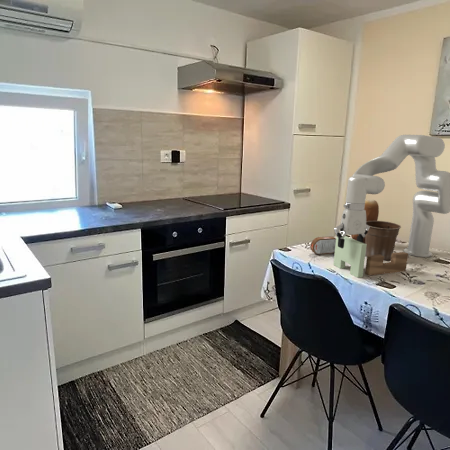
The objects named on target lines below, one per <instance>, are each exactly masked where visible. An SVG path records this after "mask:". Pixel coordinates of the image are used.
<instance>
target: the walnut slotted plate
mask: <svg viewBox="0 0 450 450" xmlns="http://www.w3.org/2000/svg"><path fill="white" fill-rule="evenodd" d="M408 258H409V254H408V253H406V252H404V251H400V252H393V253H392V255H391V259H390V261H389V262H385V260H384V256H383V255H380V254H379V255H369V256H366V261H365V267H364V274H365V275H366V276H368V277H372V276H378V275H386V274H395V273H401V272H402V273H403V272H406V271H407V266H408V265H407V264H408Z"/></svg>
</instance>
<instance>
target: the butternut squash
mask: <svg viewBox="0 0 450 450" xmlns="http://www.w3.org/2000/svg"><path fill="white" fill-rule="evenodd" d="M364 210H366V221H379V220H378V219H379V215H380V213H379V212H380V208H379V202H378V201H377V200H375V199H365V207H364ZM350 236H351V237H350V238H352V239H354V240H357V236H359V235H358V234H356V235H350ZM363 243H364V244H365V237H364V239H363Z"/></svg>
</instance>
